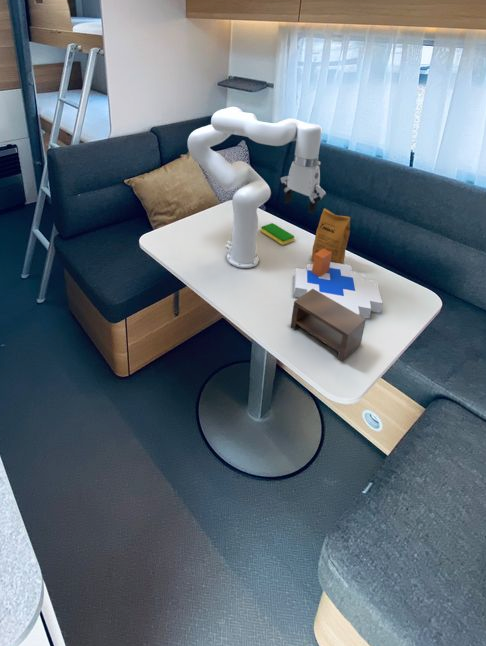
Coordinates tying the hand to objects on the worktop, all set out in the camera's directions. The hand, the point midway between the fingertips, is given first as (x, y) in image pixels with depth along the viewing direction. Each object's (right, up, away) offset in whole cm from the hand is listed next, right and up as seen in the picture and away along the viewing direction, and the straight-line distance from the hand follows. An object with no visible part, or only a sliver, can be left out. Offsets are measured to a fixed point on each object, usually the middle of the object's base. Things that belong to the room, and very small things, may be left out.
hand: (299, 206), depth 142 cm
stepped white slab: (+14, -32, +4) cm, 35 cm away
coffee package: (+18, -25, +23) cm, 38 cm away
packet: (+10, -25, +9) cm, 28 cm away
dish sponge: (+2, -17, +41) cm, 44 cm away
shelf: (+3, -38, -16) cm, 41 cm away
